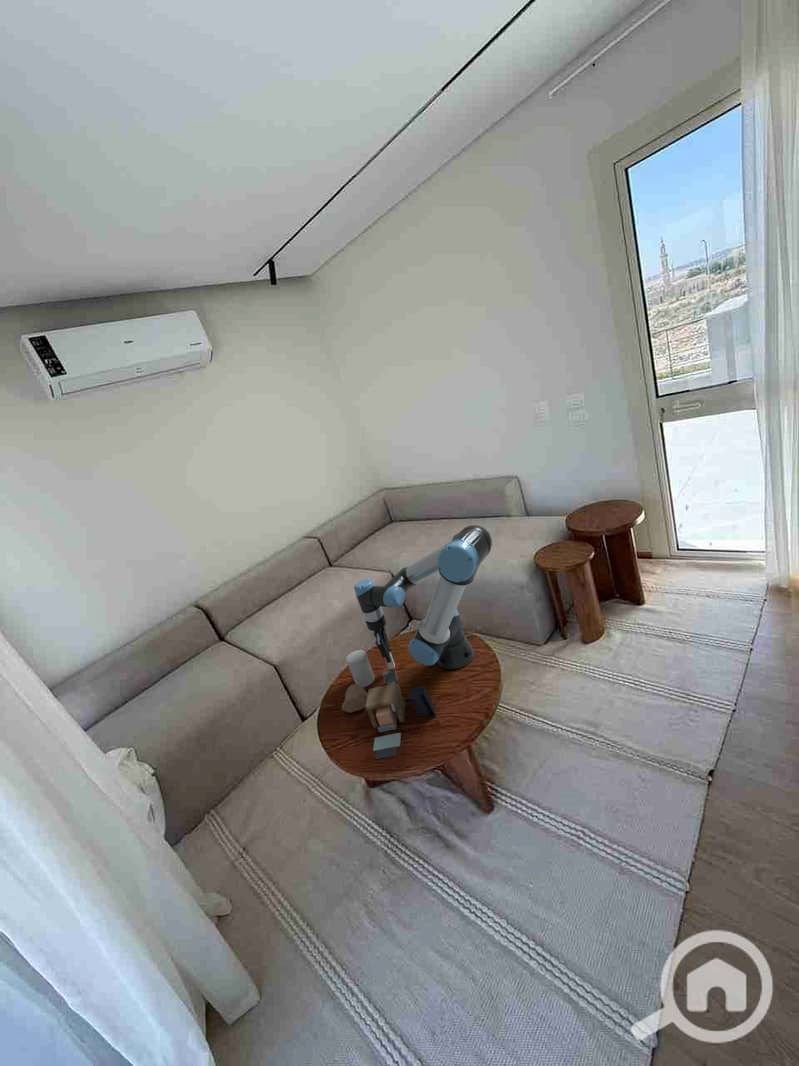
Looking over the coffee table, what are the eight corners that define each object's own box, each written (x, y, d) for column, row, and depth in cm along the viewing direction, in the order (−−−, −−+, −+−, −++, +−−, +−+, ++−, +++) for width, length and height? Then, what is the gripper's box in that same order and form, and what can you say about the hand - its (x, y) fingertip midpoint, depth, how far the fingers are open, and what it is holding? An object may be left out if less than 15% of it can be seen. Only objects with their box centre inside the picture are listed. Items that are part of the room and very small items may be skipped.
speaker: (439, 703, 153) (428, 681, 150) (436, 716, 148) (424, 693, 145) (420, 705, 156) (409, 683, 153) (416, 718, 151) (404, 695, 148)
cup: (372, 686, 174) (362, 661, 170) (353, 688, 176) (343, 663, 172) (376, 672, 181) (368, 648, 178) (358, 675, 183) (349, 651, 180)
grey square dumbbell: (399, 678, 172) (396, 669, 171) (396, 728, 147) (392, 718, 146) (385, 681, 173) (381, 672, 172) (379, 732, 148) (375, 721, 147)
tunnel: (405, 703, 159) (397, 682, 156) (404, 721, 150) (396, 700, 148) (376, 709, 160) (368, 689, 157) (373, 727, 152) (365, 706, 149)
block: (394, 714, 153) (390, 703, 151) (393, 725, 148) (389, 713, 146) (381, 717, 153) (377, 705, 152) (380, 727, 148) (376, 716, 147)
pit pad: (397, 747, 140) (396, 747, 140) (396, 755, 137) (396, 755, 137) (376, 751, 141) (376, 751, 141) (375, 759, 138) (375, 759, 138)
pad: (400, 733, 146) (400, 732, 146) (400, 746, 141) (399, 745, 140) (375, 738, 147) (374, 737, 147) (373, 751, 142) (373, 750, 142)
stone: (368, 718, 160) (373, 691, 161) (344, 717, 157) (349, 690, 157) (360, 703, 172) (364, 678, 172) (337, 703, 169) (341, 677, 169)
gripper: (367, 611, 177) (384, 659, 184) (363, 628, 165) (381, 679, 172) (384, 607, 176) (401, 655, 183) (382, 624, 164) (399, 675, 171)
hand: (391, 666), depth 178 cm, fingers closed
